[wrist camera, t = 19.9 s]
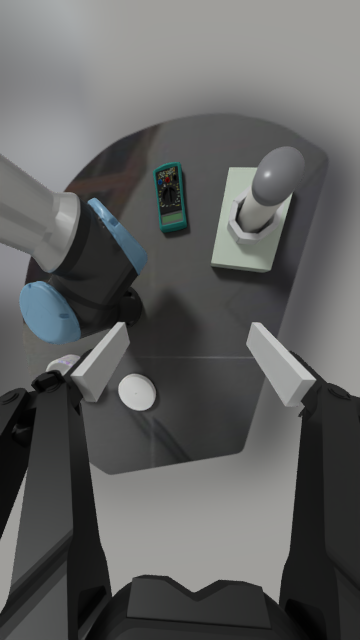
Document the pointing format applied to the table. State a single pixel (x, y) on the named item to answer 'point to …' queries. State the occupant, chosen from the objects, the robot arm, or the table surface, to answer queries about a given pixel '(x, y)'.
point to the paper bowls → (63, 363)
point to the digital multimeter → (170, 197)
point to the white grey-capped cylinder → (271, 187)
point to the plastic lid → (137, 392)
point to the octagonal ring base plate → (239, 246)
